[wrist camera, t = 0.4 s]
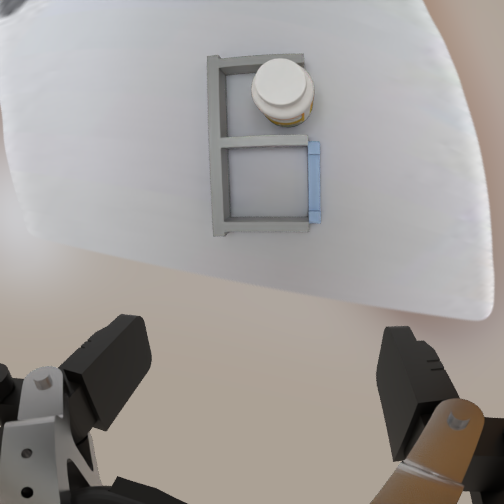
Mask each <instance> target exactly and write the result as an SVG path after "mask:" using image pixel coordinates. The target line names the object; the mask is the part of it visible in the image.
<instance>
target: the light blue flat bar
mask: <svg viewBox="0 0 504 504" xmlns="http://www.w3.org/2000/svg"><path fill="white" fill-rule="evenodd" d="M308 191H309V223H321V211H320V142H319V141H308Z"/></svg>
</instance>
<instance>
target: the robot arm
mask: <svg viewBox="0 0 504 504" xmlns="http://www.w3.org/2000/svg"><path fill="white" fill-rule="evenodd" d="M151 361H152V355H151V350H150V346H149V341H148V336H147V332H146V327H145V323H144V320H143V318H142V317H141V316H134V315H125V314H121V315H119V316H118V317H117V318H116V319H115V320H114V321H113V322H111V323H110V324H109V325H108V326H107V327H105V328H103V329H101V330H99V331H97V332H96V333H94V335H92V336H91V337H90V338H89V339H88V341H87V342H85V343H84V344H83V345H82V346H81V348H78V349H77V350H76V351H75V352H74V353H73V354H72V355H71V356H70V357H69V358H68V359H67V360H66V361H65V362H64V363H63V364H61V365H60V367H58V368H56V367H51V366H47V367H41V368H38V369H36V370H33V371H32V372H30V373H29V374H28V375H27V376H26V377H25V379H17V378H12V377H11V375H10V372H9V370H8V368H7V367H6V365H4V364H1V363H0V425H1V427H0V504H187V503H185V502H183V501H181V500H179V499H176V498H174V497H172V496H170V495H168V494H166V493H164V492H163V491H160V490H159V489H157V488H153V487H150V486H146V485H143V484H140V483H136V482H133V481H130V480H127V479H124V478H121V477H118V476H117V478H116V480H115V482H114V483H113V485H112V486H103V485H102V483H101V480H100V477H99V472H98V467H97V462H96V457H95V452H94V446H93V440H92V436H91V434H90V432H89V431H90V430H91V429H92V427H94V428H98V429H100V430H103V431H107V430H108V428H109V427H110V425H111V424H112V423H113V421H114V420H115V418H116V417H117V415H118V413H119V412H120V411H121V409H122V408H123V407H124V405H125V404H126V402H127V401H128V399H129V398H130V396H131V395H132V394H133V392H134V391H135V389H136V388H137V386H138V385H139V383H140V382H141V381H142V379H143V378H144V376H145V375H146V374H147V372H148V370H149V369H150V366H151ZM376 379H377V380H376V381H377V387H378V391H379V395H380V400H381V404H382V408H383V413H384V418H385V422H386V427H387V432H388V436H389V442H390V447H391V452H392V457H393V462H395V461H402V462H401V463H400V464H399V465H398V467H397V468H396V470H395V471H394V473H393V474H392V475H391V477H390V478H389V479H388V481H387V482H386V483H385V485H384V486H383V488H382V489H381V490H380V491H379V493H378V494H377V495H376V496H375V498H374V499H373V500H372V502H371V503H370V504H457V502H458V500H459V498H460V496H461V494H462V491H470V494H471V499H472V503H473V504H504V418H488V417H484V415H483V412H482V411H481V409H480V408H479V407H478V406H477V405H475V404H474V403H472V402H470V401H468V400H465V399H460V398H459V396H458V393H457V391H456V389H455V388H454V386H453V384H452V382H451V380H450V378H449V376H448V374H447V372H446V370H444V366H443V364H442V363H441V361H440V359H439V357H438V355H437V353H436V352H435V350H434V349H433V348H432V347H431V346H430V345H428V344H427V343H426V342H425V341H416V338H415V337H414V335H413V333H412V331H411V329H410V327H409V326H394V327H386V328H385V330H384V334H383V339H382V344H381V350H380V355H379V360H378V365H377V372H376ZM403 460H405V461H403Z"/></svg>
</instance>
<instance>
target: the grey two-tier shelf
mask: <svg viewBox="0 0 504 504" xmlns="http://www.w3.org/2000/svg"><path fill="white" fill-rule="evenodd" d="M278 58H283V59H288V60H291V61H293V62H295V63H297V64H298V65H299V66H301V67H302V68H304V54H272V55H256V56H243V57H233V58H224V59H221V57H220V56H219V55H214V56H207V94H208V133H209V161H210V184H211V204H212V223H213V236H226V235H227V234H228V233H229V232H309V217H230V195H229V170H228V149H234V148H257V147H308V135H263V136H241V137H227V111H226V75H231V74H243V73H256V72H257V71H258V69H259V68H260V67H261V66H262V65H263V64H264V63H266V62H267V61H269V60H272V59H278Z"/></svg>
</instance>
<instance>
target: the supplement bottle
mask: <svg viewBox="0 0 504 504" xmlns="http://www.w3.org/2000/svg"><path fill="white" fill-rule="evenodd" d="M251 93H252V97H253V100H254V102H255V104H256V105H257V107H258V108H259V109H260V110H261V111H262V113H263V114H264V115H265V116H266V117H267V118H268V119H269V120H270V121H271V122H272V123H274V124H276V125H278V126H282V127H293V126H296V125H299V124H301V123H302V122H304V121H305V120H306V119H307V118H308V116H309V115H310V113H311V110H312V106H313V98H314V84H313V81H312V79H311V77H310V75H309V74H308V72H307V71H306V70H305V69H304V68H302V67H301V66H299V65H298V64H297V63H295V62H293V61H291V60H288V59H283V58H278V59H272V60H269V61H267V62H266V63H264V64H263V65H262V66H261V67H260V68H259V69H258V71H257V73H256V75H255V77H254V79H253V82H252V86H251Z"/></svg>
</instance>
